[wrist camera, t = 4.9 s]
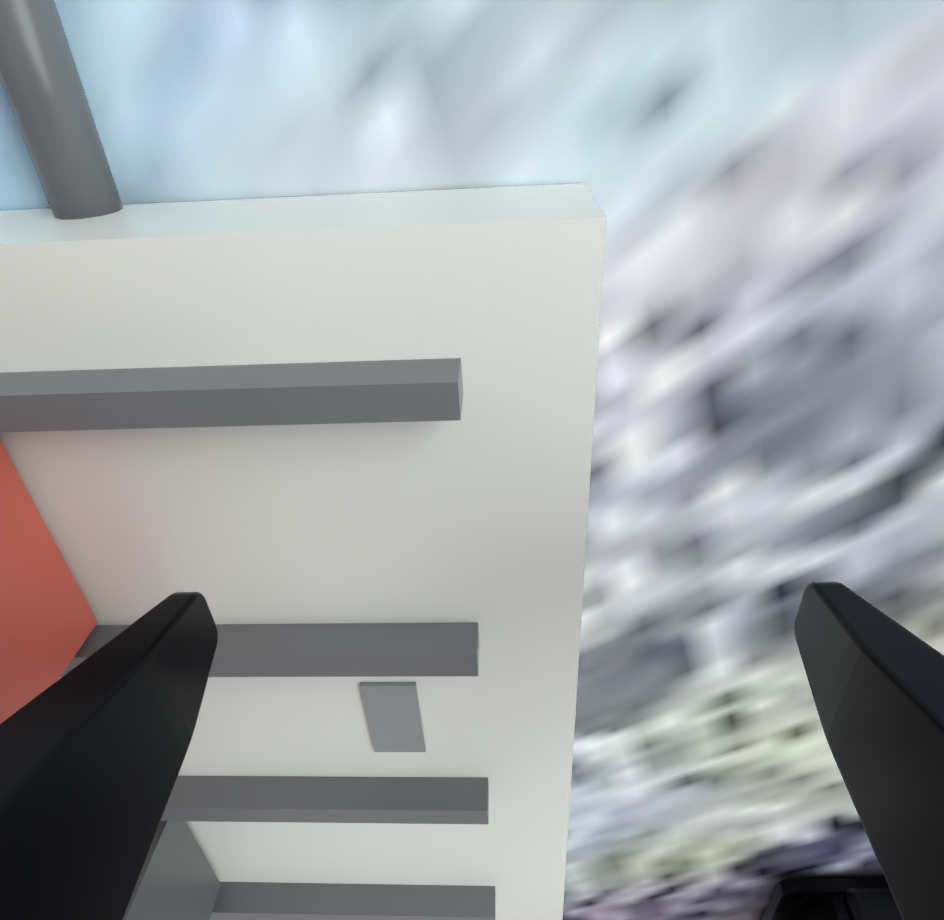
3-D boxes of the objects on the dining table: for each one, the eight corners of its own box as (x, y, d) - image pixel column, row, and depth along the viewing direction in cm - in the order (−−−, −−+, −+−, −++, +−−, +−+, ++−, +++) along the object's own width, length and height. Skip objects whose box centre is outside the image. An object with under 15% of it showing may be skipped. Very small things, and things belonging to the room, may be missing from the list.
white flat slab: (556, 843, 22) (564, 955, 19) (104, 838, 23) (51, 944, 20) (606, -274, 7) (664, -447, 5) (-616, -166, 8) (-1136, -262, 6)
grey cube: (221, 884, 19) (169, 1041, 16) (89, 882, 19) (13, 1036, 16) (174, 803, 16) (103, 970, 13) (24, 801, 16) (-79, 966, 13)
